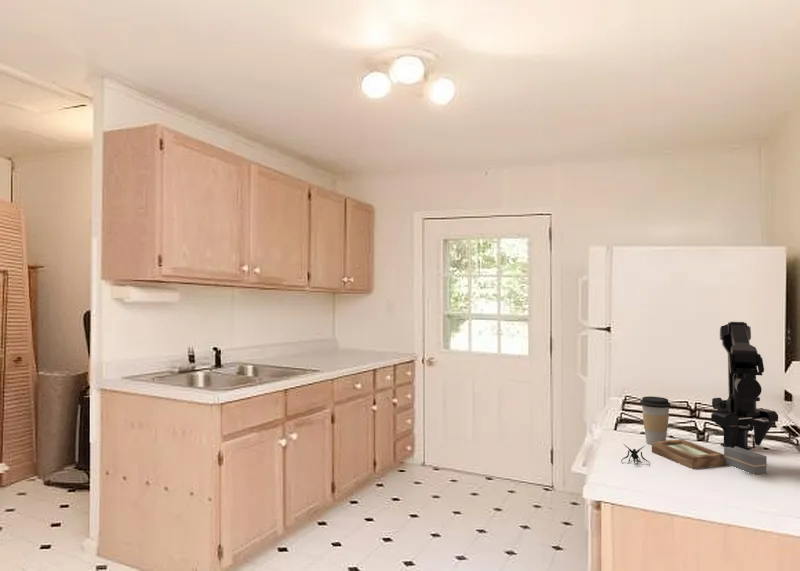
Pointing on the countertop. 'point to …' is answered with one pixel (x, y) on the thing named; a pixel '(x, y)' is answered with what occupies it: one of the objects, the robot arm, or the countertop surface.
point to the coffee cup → (655, 418)
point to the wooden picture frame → (688, 453)
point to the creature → (634, 455)
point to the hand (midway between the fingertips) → (744, 446)
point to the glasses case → (746, 460)
